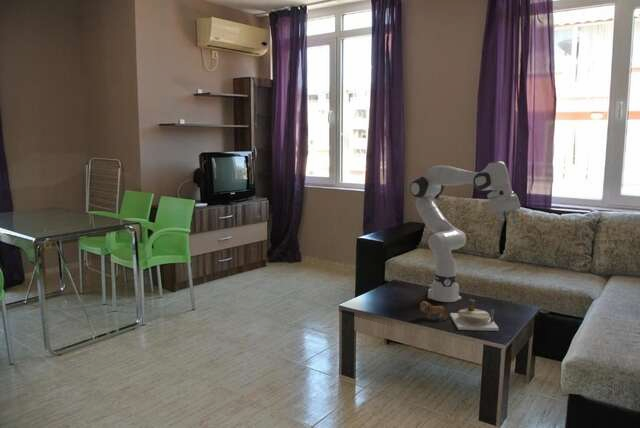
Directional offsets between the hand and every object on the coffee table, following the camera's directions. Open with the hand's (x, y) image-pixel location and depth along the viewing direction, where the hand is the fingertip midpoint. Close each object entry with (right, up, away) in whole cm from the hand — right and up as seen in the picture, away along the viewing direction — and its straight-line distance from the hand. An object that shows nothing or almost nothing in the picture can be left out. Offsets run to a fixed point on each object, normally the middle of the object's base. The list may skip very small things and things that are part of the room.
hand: (508, 220), depth 254 cm
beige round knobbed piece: (-17, -48, +1) cm, 51 cm away
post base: (-17, -51, +1) cm, 54 cm away
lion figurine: (-36, -50, +6) cm, 62 cm away
